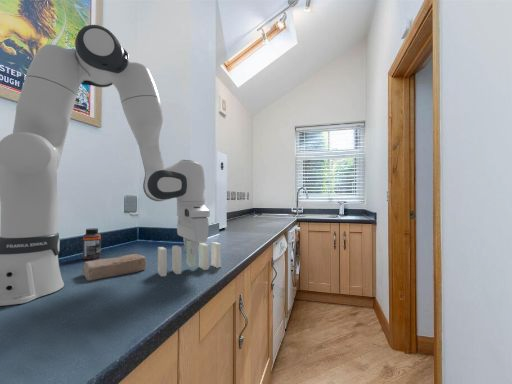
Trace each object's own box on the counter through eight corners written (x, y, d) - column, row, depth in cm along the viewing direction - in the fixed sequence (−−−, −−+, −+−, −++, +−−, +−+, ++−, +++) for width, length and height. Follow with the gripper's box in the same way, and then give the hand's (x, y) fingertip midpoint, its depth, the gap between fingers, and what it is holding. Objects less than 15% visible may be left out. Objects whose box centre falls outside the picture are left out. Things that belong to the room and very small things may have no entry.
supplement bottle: (86, 256, 107) (86, 227, 107) (103, 255, 108) (103, 227, 108) (79, 260, 101) (80, 229, 101) (97, 259, 103) (97, 229, 103)
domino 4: (216, 268, 91) (216, 244, 91) (211, 265, 95) (211, 242, 95) (221, 267, 92) (221, 243, 92) (215, 264, 96) (215, 241, 96)
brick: (88, 282, 77) (88, 265, 77) (81, 275, 83) (82, 260, 83) (147, 271, 88) (147, 256, 88) (137, 266, 94) (137, 252, 95)
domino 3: (203, 270, 89) (204, 245, 89) (198, 266, 93) (199, 243, 93) (208, 269, 89) (208, 245, 90) (203, 266, 93) (203, 242, 93)
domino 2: (176, 274, 84) (176, 248, 84) (172, 270, 88) (172, 245, 88) (181, 273, 85) (181, 247, 85) (177, 270, 89) (177, 245, 89)
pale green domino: (191, 267, 86) (191, 242, 86) (186, 264, 90) (186, 239, 90) (195, 266, 87) (195, 241, 87) (191, 263, 91) (191, 239, 91)
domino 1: (161, 276, 81) (161, 249, 82) (157, 272, 85) (157, 247, 85) (166, 275, 82) (166, 249, 82) (162, 272, 86) (163, 246, 86)
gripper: (172, 209, 96) (172, 248, 96) (191, 212, 79) (191, 260, 79) (190, 208, 99) (190, 246, 99) (212, 211, 82) (212, 257, 82)
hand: (190, 252), depth 89 cm, fingers closed on pale green domino, 5 cm apart
